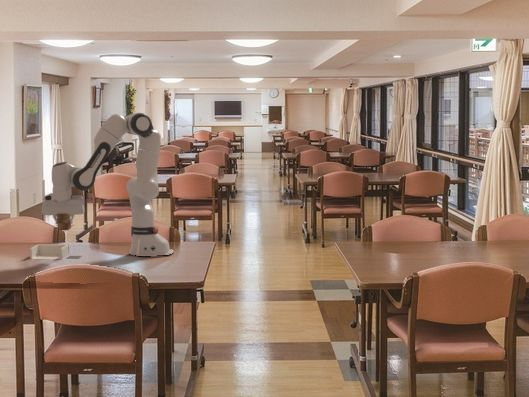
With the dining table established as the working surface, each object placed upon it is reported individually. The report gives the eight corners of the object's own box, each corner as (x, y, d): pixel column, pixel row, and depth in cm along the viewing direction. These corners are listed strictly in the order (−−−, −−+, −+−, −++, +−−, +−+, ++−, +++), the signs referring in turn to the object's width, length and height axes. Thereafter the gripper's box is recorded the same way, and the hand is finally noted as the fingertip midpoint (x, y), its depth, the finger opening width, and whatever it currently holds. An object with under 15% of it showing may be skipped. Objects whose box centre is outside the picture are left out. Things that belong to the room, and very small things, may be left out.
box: (69, 255, 370) (68, 244, 369) (62, 260, 359) (62, 249, 359) (37, 255, 371) (37, 244, 370) (30, 259, 360) (29, 248, 359)
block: (71, 228, 361) (70, 212, 360) (68, 230, 356) (67, 213, 355) (61, 228, 362) (59, 212, 360) (57, 230, 357) (56, 214, 355)
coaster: (81, 257, 366) (81, 255, 366) (78, 259, 360) (78, 258, 360) (70, 256, 367) (70, 255, 367) (66, 259, 361) (66, 258, 361)
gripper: (85, 194, 359) (87, 222, 361) (43, 195, 360) (45, 223, 362) (81, 196, 353) (83, 224, 355) (39, 197, 354) (41, 225, 356)
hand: (64, 223), depth 359 cm, fingers closed on block, 5 cm apart
